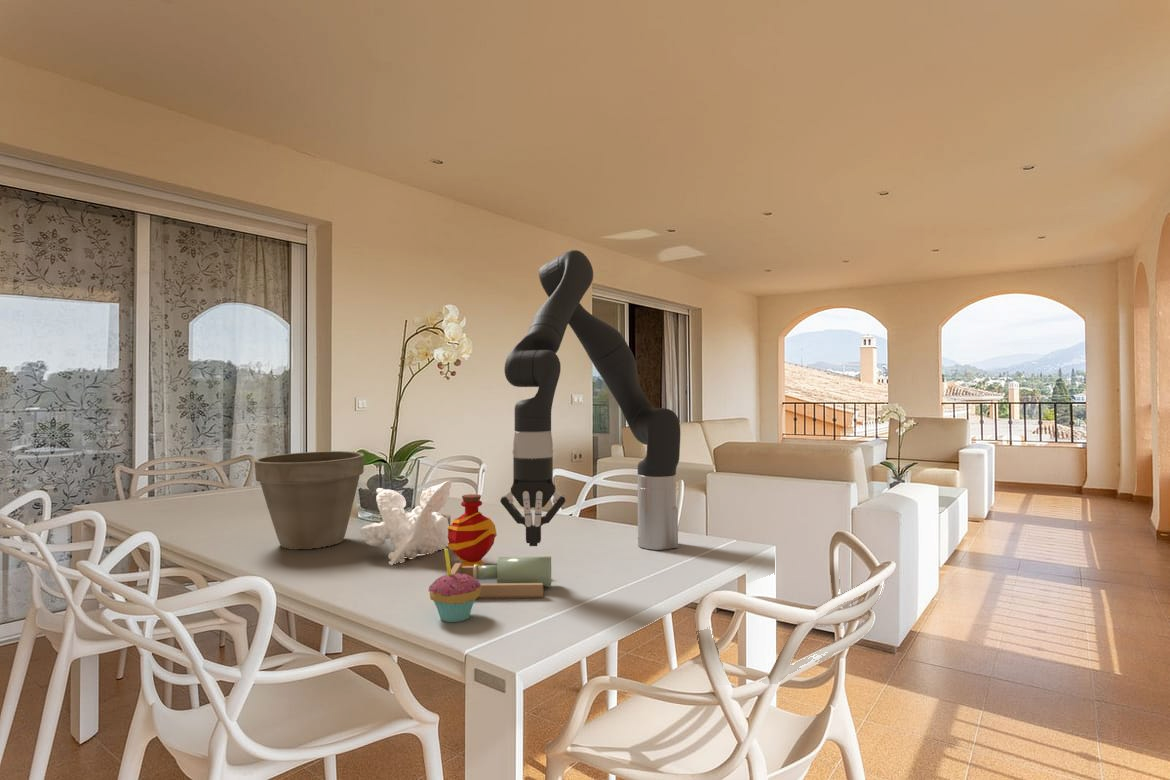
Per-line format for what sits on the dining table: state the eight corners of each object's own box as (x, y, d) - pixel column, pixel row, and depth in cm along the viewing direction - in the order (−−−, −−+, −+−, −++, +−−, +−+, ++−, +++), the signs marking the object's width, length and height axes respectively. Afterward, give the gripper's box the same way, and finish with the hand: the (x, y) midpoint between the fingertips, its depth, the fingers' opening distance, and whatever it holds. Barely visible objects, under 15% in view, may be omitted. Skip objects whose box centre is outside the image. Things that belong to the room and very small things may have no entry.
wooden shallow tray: (545, 577, 131) (545, 562, 131) (542, 598, 118) (542, 581, 118) (455, 578, 130) (455, 563, 130) (442, 599, 117) (442, 582, 117)
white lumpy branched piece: (468, 504, 163) (444, 470, 146) (459, 584, 152) (432, 558, 136) (395, 507, 165) (364, 474, 148) (382, 586, 154) (346, 560, 138)
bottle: (551, 552, 126) (476, 553, 126) (550, 561, 121) (472, 562, 121) (551, 579, 127) (476, 580, 126) (550, 590, 121) (472, 591, 121)
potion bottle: (474, 574, 133) (473, 501, 133) (437, 567, 138) (437, 497, 138) (506, 563, 141) (506, 494, 141) (470, 556, 147) (470, 490, 147)
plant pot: (257, 561, 144) (256, 463, 144) (252, 539, 165) (252, 454, 165) (373, 547, 156) (373, 457, 156) (354, 528, 178) (354, 449, 178)
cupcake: (418, 622, 105) (418, 548, 105) (447, 606, 113) (447, 537, 113) (464, 629, 102) (464, 553, 102) (491, 612, 110) (490, 541, 110)
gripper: (567, 452, 128) (568, 540, 128) (500, 453, 128) (500, 541, 128) (567, 456, 120) (568, 549, 120) (496, 456, 120) (496, 550, 120)
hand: (533, 545), depth 124 cm, fingers closed
